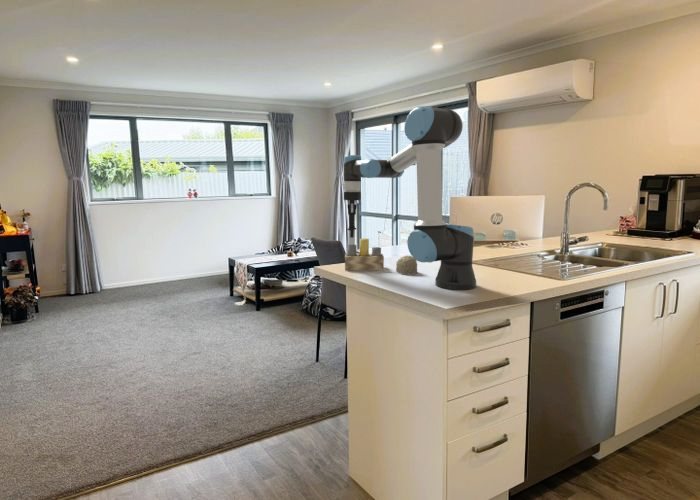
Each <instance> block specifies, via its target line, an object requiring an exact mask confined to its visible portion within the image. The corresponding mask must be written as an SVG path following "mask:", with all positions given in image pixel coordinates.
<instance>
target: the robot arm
mask: <svg viewBox="0 0 700 500" xmlns="http://www.w3.org/2000/svg"><path fill="white" fill-rule="evenodd" d="M463 127H464V126H463V120H462V118H461V116H460V115H459V113H458V112H457V111H455V110H453V109H450V108H439V107H435V106H430V105H427V106H425V105H424V106H421V105H420V106H416V107H414V108H413V109H412V110H410V112H409V113H408V115H407V116H406V119H405V121H404V128H403V129H404V130H403V131H404V134H405V136H406V138H407V139H408V140H409V141H411V143H410V144H409V145H407V146H405V147H404V148H402V149H401V150H400V151H398V152H397V153H396V154H394V155H392V157H391V156H390V157H389V158H388V159H375V158H374V159H373V158H367V159H362V156H361V155H359V154H352V155H351V154H350V155H349V154H348V155H344V156H343V157H344V158H343V183H342V186H343V200H344V201H349V203H347V214H348V216H349V217H348V218H349V219H348V228H347V231H348V245H356V243H355V242H356V230H357V227H355V226H356V225H355V224H356V223H355V222H356V215H357V204H356V203H355V201H360V200H361V199H362V194H361V193H362V192H361V190H362V178H363V179H364V178H366V179H375V178H377V179H378V178H380V179H381V178H382V179H383V178H385V179H386V178H387V179H388V178H389V179H396V178H401V177H402V176H403V174H404V172H405V170H407V169H408V168H410V167H412V166H413V165H415V164H416V188H417V189H416V192H417V193H416V194H417V196H416V197H417V198H416V199H417V220H416V222H415V223H414V224H413V231H410V233H409V235H408V237H407V242H406V243H407V249H408V252H409V253H410V256H412V257H413V258H414V259H415V260H416V262H419V263H433V262H439V261H440V265H439V268H438V270H437V271H438V272H437V275H436V277H435V283H434V284H435V286H437V287H439V288H442V289H446V290H447V289H448V290H457V291H459V290H462V291H463V290H464V291H465V290H472V289H474V288H477V279H476V275H475V271H474V268H473V257H474V255H473V254H474V241H475V240H474V239H475V236H474V229H473V227H472V226H466V225H457V224H449V223H447V222H446V221H444V220H443V187H442V186H443V183H442V180H443V179H442V177H443V176H442V174H443V173H442V150H444V149H445V148H447V147H449V146H450V145H452V144H453V143H455V142H456V141H457V140H458V139H459V137H460V136H461V134H462V132H463Z"/></svg>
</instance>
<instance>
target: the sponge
mask: <svg viewBox="0 0 700 500" xmlns="http://www.w3.org/2000/svg"><path fill="white" fill-rule="evenodd" d="M395 267H396V269H395V271H396V273H397V274H399V275H415V274H417V273H418V261H417V260H415V259H414V258H413V256H412V255H404V256H401V257H400V258H399V259H397V261H396V266H395Z"/></svg>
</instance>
